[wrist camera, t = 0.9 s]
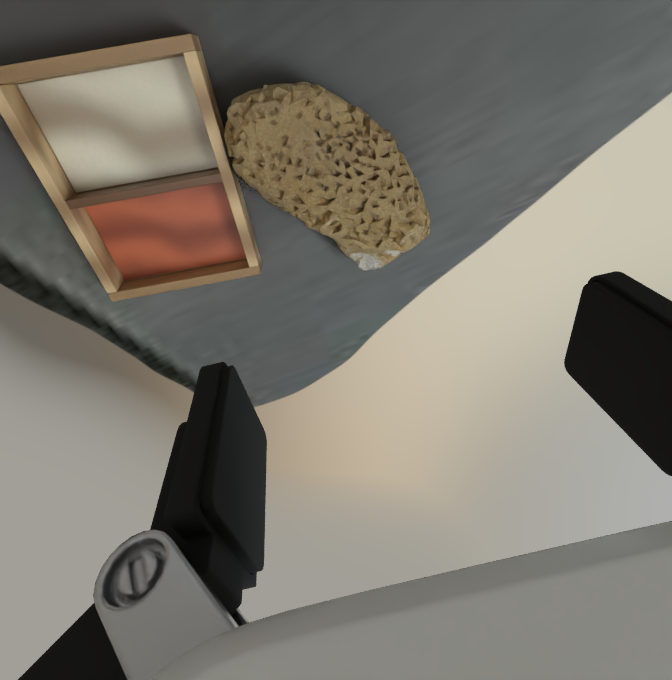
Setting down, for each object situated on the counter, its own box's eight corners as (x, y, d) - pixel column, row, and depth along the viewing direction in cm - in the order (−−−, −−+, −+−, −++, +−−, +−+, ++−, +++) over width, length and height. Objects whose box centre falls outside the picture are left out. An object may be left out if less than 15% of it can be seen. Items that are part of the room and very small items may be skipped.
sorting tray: (-1, 70, 29) (-26, 70, 27) (197, 35, 30) (190, 33, 27) (122, 287, 42) (112, 301, 39) (262, 261, 42) (261, 274, 39)
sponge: (428, 198, 41) (327, 0, 27) (447, 242, 36) (337, 31, 23) (331, 255, 46) (204, 113, 32) (337, 300, 42) (192, 157, 28)
